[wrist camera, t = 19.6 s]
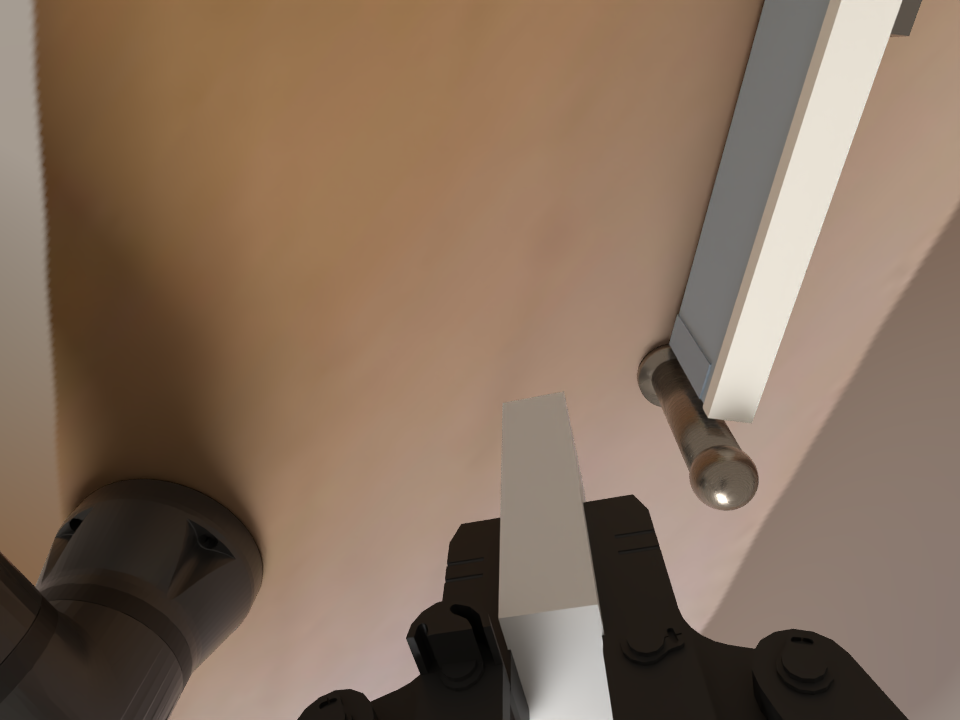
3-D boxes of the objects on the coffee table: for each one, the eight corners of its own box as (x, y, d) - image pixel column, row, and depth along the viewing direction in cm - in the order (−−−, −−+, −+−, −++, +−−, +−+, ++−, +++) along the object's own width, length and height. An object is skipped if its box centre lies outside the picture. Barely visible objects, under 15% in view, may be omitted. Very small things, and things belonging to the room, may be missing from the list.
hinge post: (630, 399, 43) (676, 528, 31) (645, 339, 41) (699, 453, 29) (695, 407, 43) (765, 539, 31) (713, 347, 41) (795, 464, 29)
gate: (702, 348, 40) (751, 423, 32) (667, 343, 40) (707, 417, 32) (823, -59, 31) (937, -99, 22) (778, -65, 30) (875, -108, 22)
